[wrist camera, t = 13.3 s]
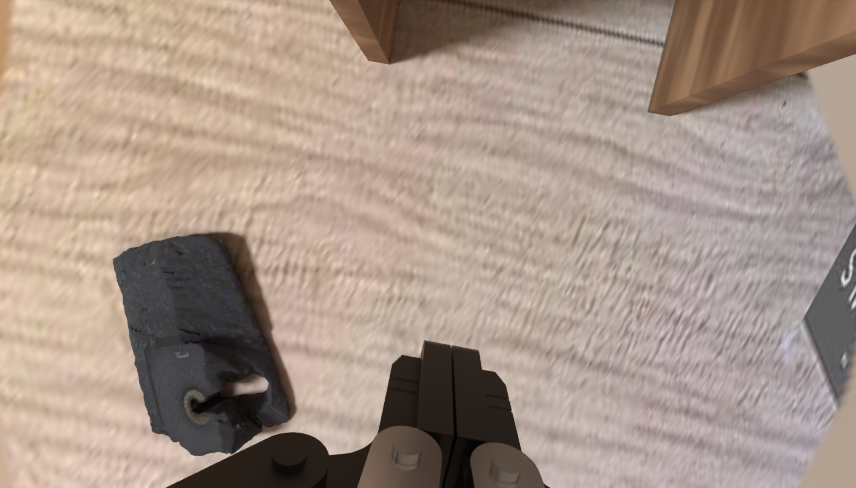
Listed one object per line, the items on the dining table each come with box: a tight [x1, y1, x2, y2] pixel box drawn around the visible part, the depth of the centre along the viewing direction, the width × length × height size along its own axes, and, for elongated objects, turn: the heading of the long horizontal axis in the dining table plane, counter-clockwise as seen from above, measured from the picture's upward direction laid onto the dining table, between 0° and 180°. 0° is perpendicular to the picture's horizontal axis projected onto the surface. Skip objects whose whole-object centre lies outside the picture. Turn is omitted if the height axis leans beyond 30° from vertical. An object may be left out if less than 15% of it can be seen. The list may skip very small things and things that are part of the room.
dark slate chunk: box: [113, 235, 290, 456], centre depth 42 cm, size 15×22×5 cm
